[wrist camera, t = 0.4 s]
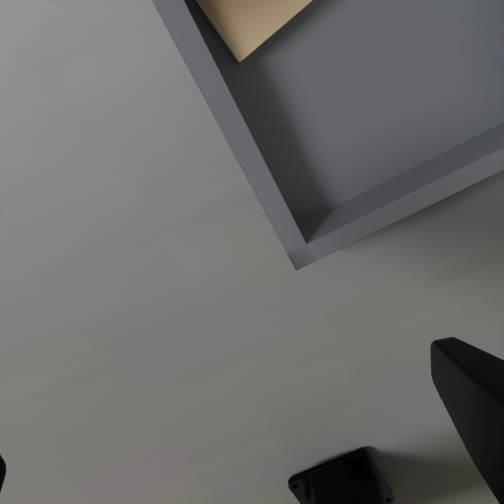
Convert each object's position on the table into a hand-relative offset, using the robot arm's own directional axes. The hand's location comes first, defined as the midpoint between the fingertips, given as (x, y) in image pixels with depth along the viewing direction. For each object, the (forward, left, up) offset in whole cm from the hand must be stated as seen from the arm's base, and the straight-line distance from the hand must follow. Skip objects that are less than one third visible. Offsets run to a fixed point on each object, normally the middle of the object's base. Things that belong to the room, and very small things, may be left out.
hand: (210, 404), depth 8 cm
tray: (+4, -9, -14) cm, 17 cm away
